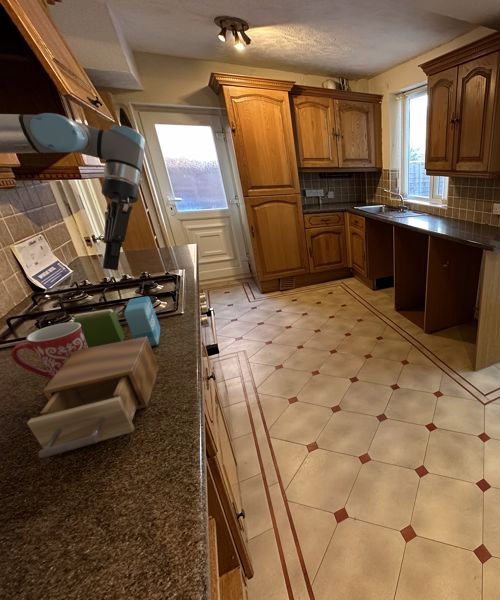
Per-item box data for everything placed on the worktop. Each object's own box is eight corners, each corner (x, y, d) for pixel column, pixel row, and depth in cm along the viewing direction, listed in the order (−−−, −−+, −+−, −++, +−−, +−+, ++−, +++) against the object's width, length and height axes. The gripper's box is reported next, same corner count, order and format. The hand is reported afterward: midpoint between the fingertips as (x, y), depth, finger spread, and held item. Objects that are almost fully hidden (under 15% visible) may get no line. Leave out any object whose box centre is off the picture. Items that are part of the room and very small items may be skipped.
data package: (158, 346, 92) (144, 309, 87) (138, 351, 90) (123, 313, 85) (161, 329, 102) (148, 294, 97) (143, 333, 100) (130, 297, 95)
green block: (91, 343, 95) (77, 312, 91) (125, 336, 98) (112, 306, 94) (86, 349, 91) (71, 318, 87) (121, 342, 95) (108, 312, 91)
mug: (107, 364, 85) (86, 318, 79) (97, 383, 77) (73, 334, 72) (42, 378, 79) (14, 331, 74) (24, 401, 72) (-7, 349, 67)
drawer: (125, 455, 57) (108, 422, 54) (30, 485, 52) (6, 450, 49) (148, 388, 74) (136, 359, 71) (78, 405, 69) (62, 375, 66)
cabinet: (147, 407, 70) (131, 370, 66) (64, 429, 64) (42, 390, 60) (159, 368, 83) (146, 336, 79) (91, 384, 77) (74, 350, 73)
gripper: (147, 183, 87) (136, 269, 84) (130, 195, 94) (120, 273, 92) (111, 171, 81) (98, 263, 78) (96, 184, 88) (84, 268, 85)
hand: (110, 268), depth 85 cm, fingers closed
